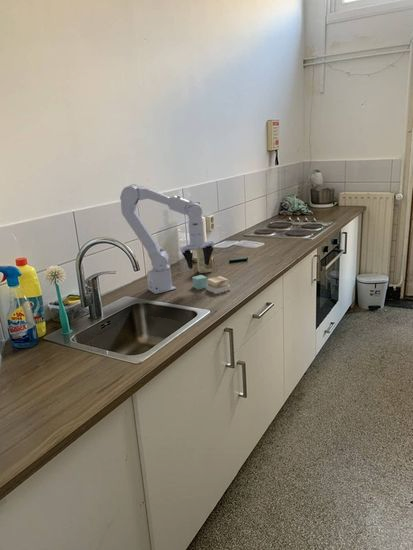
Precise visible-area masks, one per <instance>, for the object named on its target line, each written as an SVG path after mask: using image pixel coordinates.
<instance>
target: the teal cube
mask: <svg viewBox="0 0 413 550" xmlns="http://www.w3.org/2000/svg"><path fill="white" fill-rule="evenodd" d="M207 279H208V278H207V276H205V275H203V274H199V275H195V276H192V280H191V281H192V287H193V288H195V289H196V290H202V289H206V285H208V282H207Z"/></svg>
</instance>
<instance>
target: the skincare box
mask: <svg viewBox="0 0 413 550" xmlns="http://www.w3.org/2000/svg"><path fill="white" fill-rule="evenodd" d="M212 255H213V253H212V254H211V257H210V261H209V265H206V264H205V262H204V253H203V249H202V248H201V249H196V262H197V263H196V264H197V272H198V273H199V274H203V273H213V256H212Z"/></svg>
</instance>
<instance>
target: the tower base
mask: <svg viewBox="0 0 413 550" xmlns="http://www.w3.org/2000/svg"><path fill="white" fill-rule="evenodd" d="M205 289H206V291H209V292H210V293H212V292H213V294H214V293H215V295H218V294H221V292H222V293H225V292H229V291H231V285H230V284H228V286H224V287H220V288H217V289H215V288H213V287H211V286H209V285H208V284H207V285H206V288H205ZM228 290H229V291H228ZM224 291H225V292H224ZM217 293H218V294H217Z"/></svg>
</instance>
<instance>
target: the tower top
mask: <svg viewBox="0 0 413 550" xmlns="http://www.w3.org/2000/svg"><path fill="white" fill-rule="evenodd" d="M207 285H209V286H211V287H213V288H215V289H217V288H220V287H224V286H228V285H229V279H228V278H226V277H223V276H220V275H218V276H215V277H210V278H207Z"/></svg>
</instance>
